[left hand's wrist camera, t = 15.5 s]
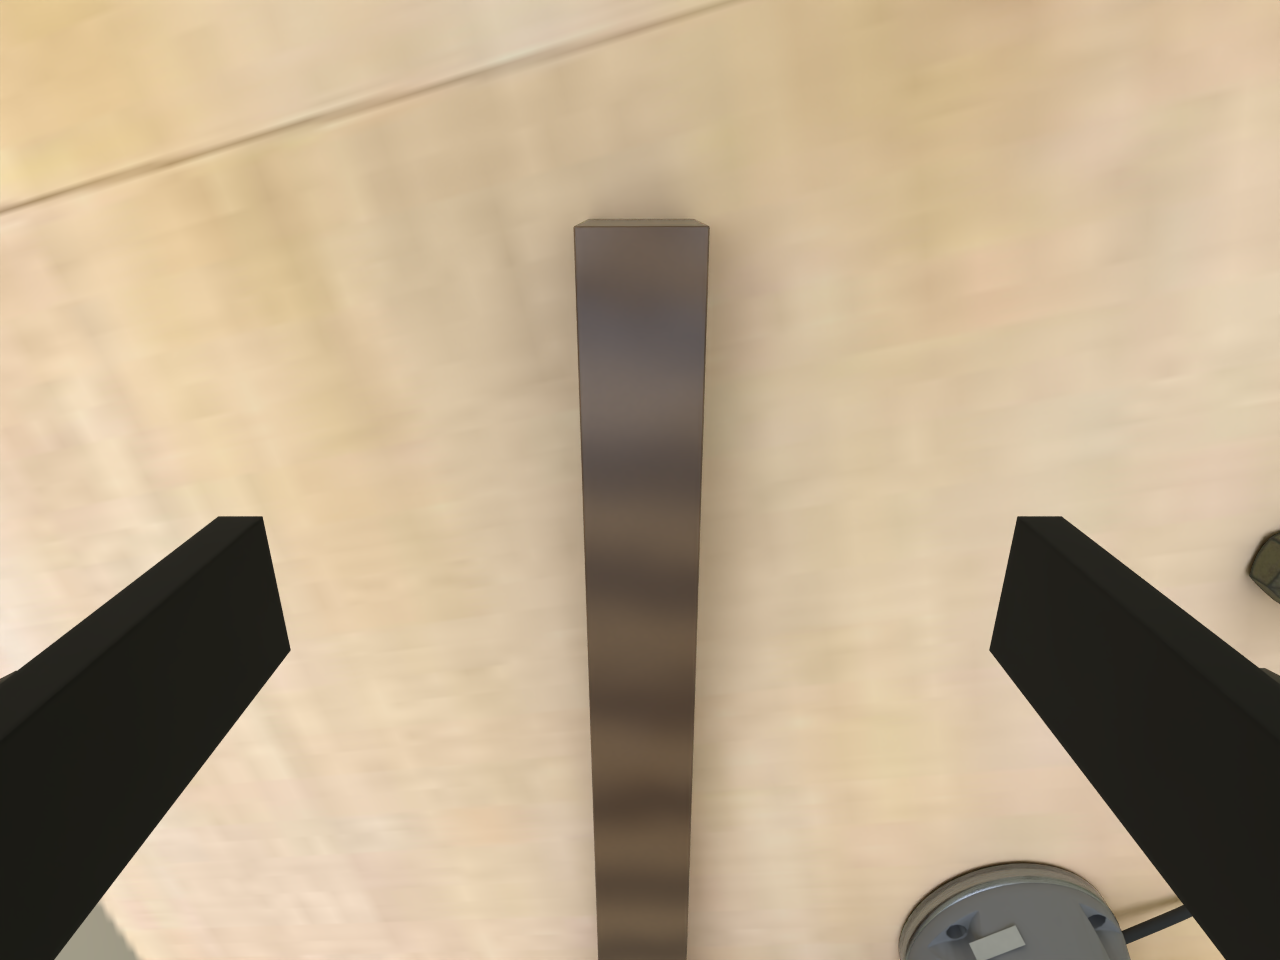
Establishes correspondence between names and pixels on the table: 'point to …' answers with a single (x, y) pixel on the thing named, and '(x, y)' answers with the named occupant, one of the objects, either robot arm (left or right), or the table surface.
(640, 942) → the beam
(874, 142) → the table surface
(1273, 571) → the grenade
